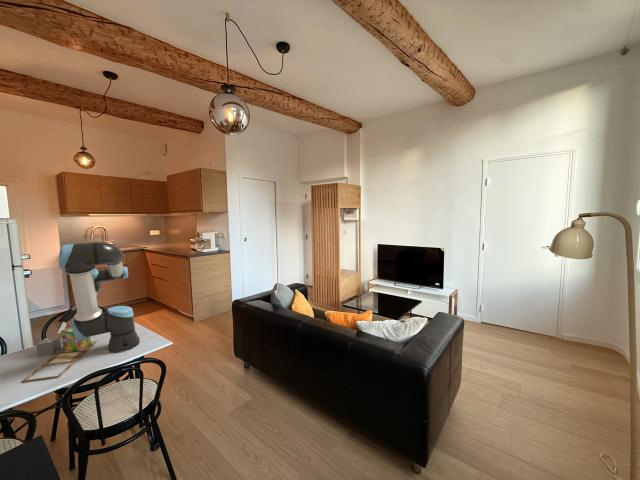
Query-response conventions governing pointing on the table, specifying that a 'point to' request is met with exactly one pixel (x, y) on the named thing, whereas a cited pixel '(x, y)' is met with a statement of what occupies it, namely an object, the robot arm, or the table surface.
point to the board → (62, 361)
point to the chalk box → (73, 340)
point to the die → (49, 346)
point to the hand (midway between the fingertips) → (73, 333)
